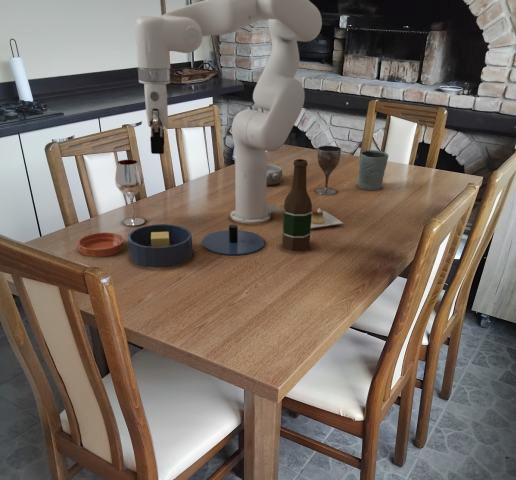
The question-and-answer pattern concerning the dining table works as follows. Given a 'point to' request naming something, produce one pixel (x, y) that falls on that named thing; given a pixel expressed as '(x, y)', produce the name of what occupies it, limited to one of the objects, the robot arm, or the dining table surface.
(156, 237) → the cheese block
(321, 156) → the wine glass
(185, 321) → the dining table surface
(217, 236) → the lid
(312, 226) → the dessert
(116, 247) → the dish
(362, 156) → the green cup
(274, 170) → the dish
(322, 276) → the dining table surface
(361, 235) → the dining table surface
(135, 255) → the pan
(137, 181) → the wineglass
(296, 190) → the beer bottle
